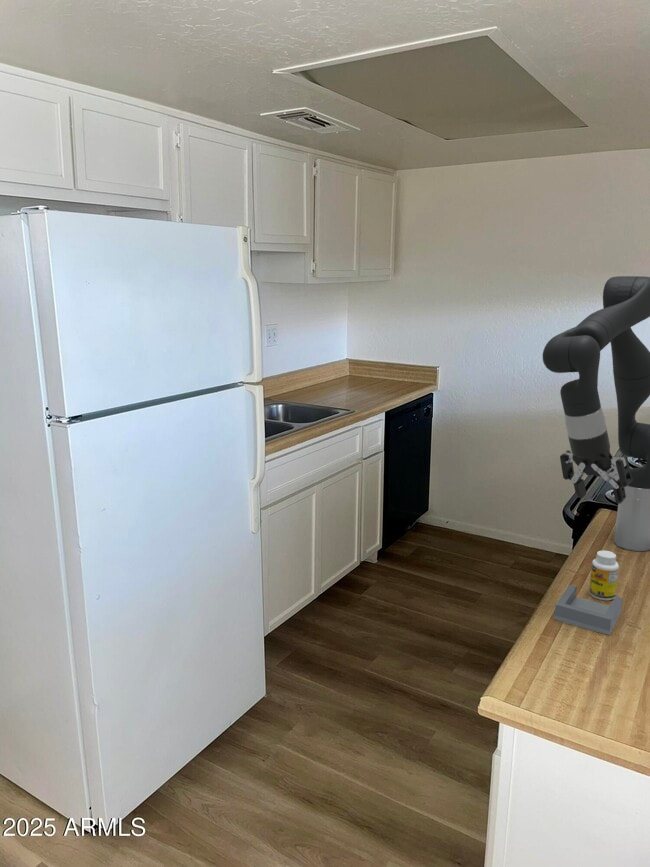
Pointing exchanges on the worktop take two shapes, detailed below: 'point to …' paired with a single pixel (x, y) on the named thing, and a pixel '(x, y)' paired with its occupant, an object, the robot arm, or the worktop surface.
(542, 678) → the worktop surface
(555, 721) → the worktop surface
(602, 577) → the supplement bottle
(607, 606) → the u rest
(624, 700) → the worktop surface
